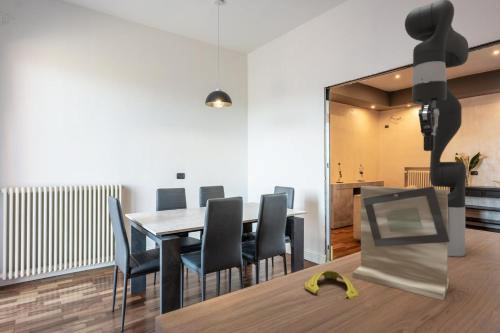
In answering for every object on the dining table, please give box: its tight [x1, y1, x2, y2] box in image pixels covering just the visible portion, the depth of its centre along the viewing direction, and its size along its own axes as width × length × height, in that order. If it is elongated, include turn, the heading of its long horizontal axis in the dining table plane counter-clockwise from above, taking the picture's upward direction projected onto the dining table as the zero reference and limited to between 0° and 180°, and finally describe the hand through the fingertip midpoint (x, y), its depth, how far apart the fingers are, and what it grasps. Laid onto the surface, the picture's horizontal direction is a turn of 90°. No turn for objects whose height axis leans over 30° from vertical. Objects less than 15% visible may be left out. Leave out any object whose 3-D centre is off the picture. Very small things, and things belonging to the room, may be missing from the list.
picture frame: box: [363, 185, 450, 247], centre depth 78 cm, size 2×18×14 cm, turn 50°
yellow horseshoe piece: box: [304, 270, 359, 300], centre depth 75 cm, size 13×13×4 cm
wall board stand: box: [352, 185, 450, 301], centre depth 80 cm, size 12×22×26 cm, turn 49°
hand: (428, 150), depth 74 cm, fingers closed
